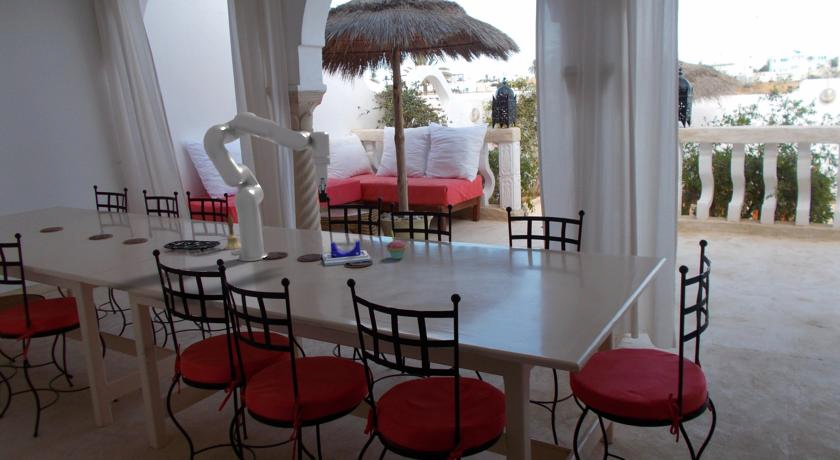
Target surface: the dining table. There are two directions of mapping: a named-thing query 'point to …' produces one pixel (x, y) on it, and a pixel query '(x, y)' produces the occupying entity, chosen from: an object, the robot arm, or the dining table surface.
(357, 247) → the cable clip
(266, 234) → the dining table surface
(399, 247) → the cupcake
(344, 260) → the door panel
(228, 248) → the hand bell
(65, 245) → the dining table surface
